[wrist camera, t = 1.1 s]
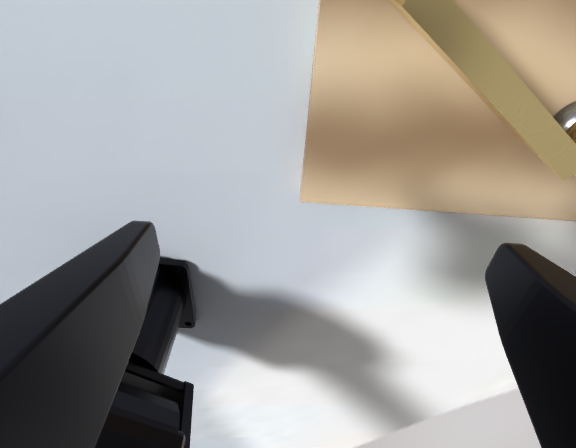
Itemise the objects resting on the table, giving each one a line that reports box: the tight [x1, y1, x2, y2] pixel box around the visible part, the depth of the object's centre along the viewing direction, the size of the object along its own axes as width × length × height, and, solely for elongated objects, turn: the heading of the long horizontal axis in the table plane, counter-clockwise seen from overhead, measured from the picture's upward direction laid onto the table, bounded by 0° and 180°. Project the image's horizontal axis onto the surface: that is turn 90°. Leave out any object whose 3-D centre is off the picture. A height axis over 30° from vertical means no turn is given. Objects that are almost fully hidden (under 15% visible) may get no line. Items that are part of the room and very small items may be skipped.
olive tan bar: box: [389, 0, 576, 182], centre depth 13 cm, size 12×3×4 cm, turn 51°
